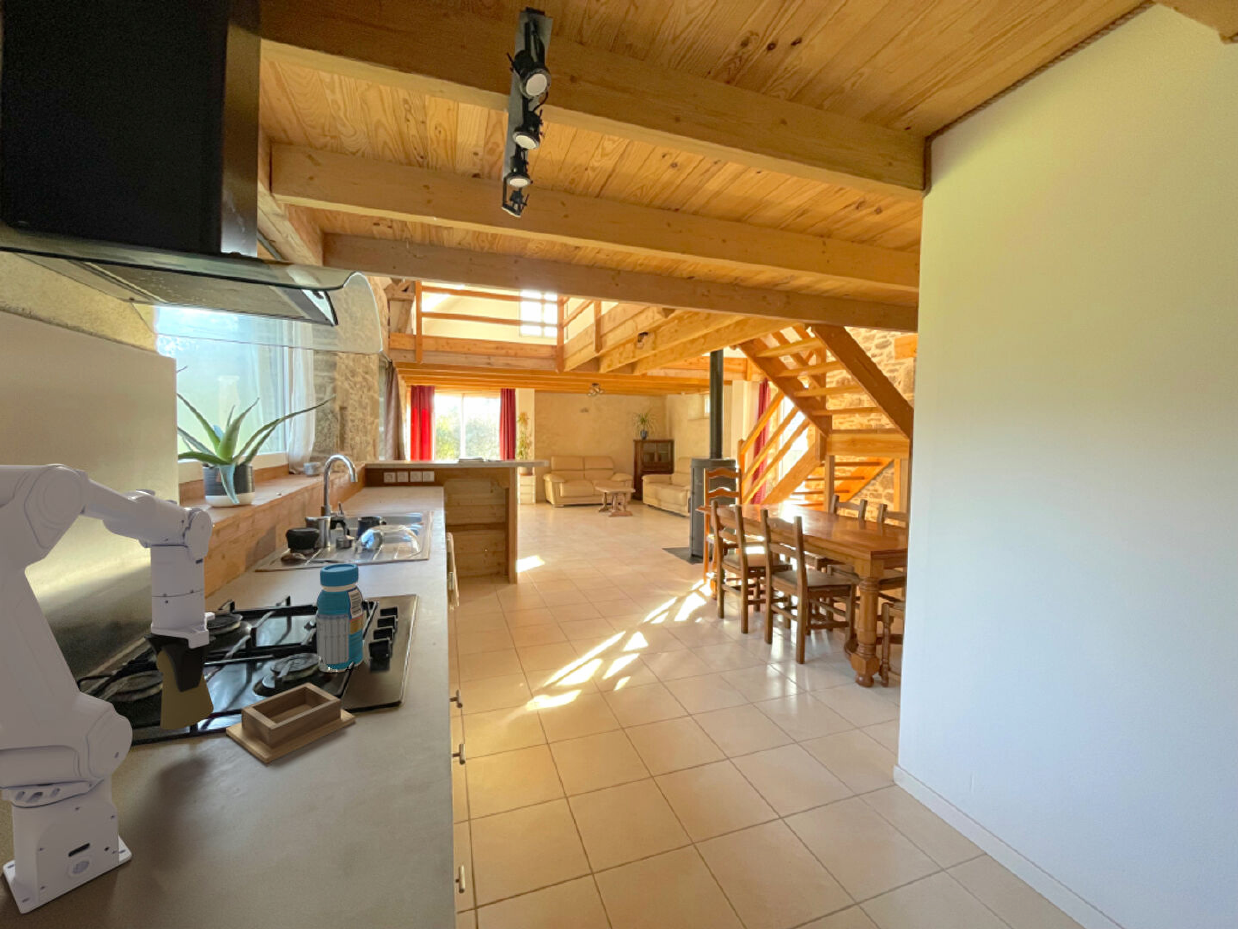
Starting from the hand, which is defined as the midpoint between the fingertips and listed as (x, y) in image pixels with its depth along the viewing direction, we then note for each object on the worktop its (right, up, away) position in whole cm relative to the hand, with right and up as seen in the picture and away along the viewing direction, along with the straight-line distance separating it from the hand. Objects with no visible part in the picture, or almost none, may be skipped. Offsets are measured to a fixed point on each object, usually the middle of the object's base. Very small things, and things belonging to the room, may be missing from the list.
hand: (181, 683), depth 73 cm
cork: (0, -6, +1) cm, 6 cm away
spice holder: (+11, -10, +8) cm, 17 cm away
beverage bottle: (+7, -9, +29) cm, 31 cm away
